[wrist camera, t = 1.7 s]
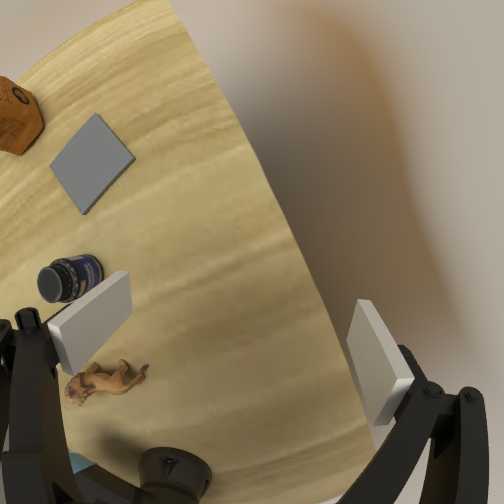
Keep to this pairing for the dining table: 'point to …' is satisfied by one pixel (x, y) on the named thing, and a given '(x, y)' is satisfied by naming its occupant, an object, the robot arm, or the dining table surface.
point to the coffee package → (17, 117)
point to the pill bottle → (69, 278)
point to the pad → (91, 163)
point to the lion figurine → (100, 383)
